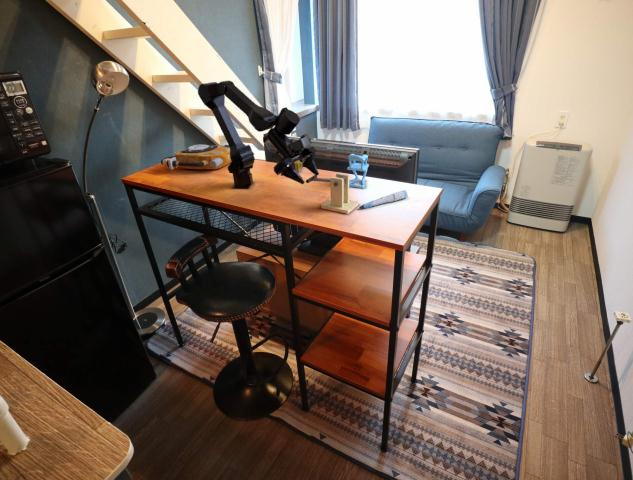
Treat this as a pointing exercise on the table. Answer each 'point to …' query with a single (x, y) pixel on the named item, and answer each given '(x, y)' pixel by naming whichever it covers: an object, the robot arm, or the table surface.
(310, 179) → the lever
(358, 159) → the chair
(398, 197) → the pen
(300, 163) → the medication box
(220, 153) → the device
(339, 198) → the bracket
